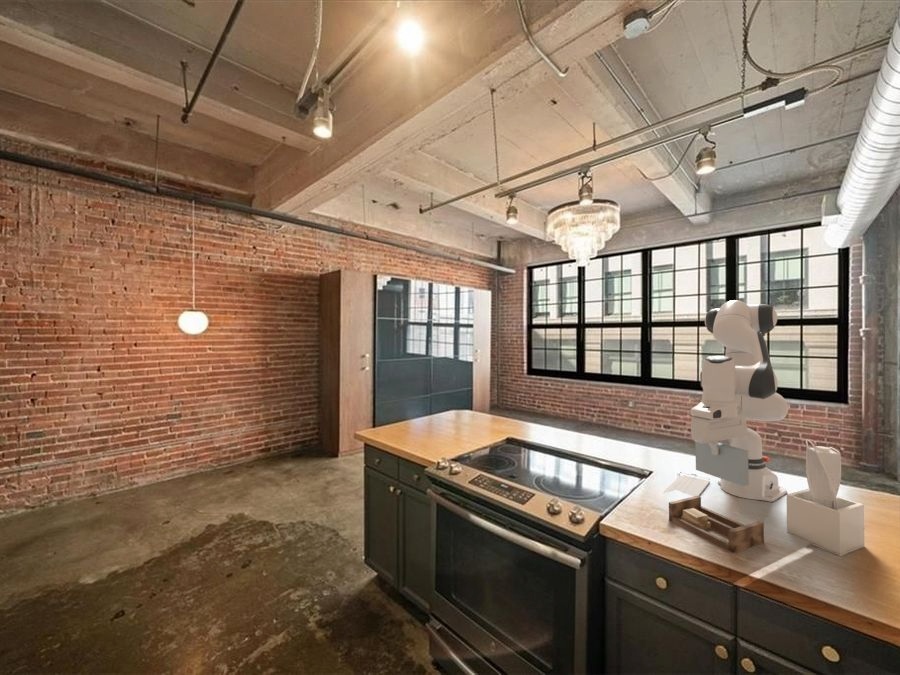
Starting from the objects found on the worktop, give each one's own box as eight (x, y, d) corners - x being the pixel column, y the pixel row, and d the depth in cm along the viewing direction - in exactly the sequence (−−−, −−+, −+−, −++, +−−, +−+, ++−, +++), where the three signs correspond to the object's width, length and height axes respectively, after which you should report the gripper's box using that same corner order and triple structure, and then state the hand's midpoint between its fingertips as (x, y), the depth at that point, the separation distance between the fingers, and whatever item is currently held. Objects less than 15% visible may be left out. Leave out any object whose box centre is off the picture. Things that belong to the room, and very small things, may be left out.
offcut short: (693, 514, 118) (693, 508, 118) (707, 521, 113) (707, 515, 113) (682, 516, 117) (682, 509, 117) (696, 523, 112) (696, 517, 112)
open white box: (810, 526, 115) (810, 488, 115) (864, 546, 104) (863, 504, 104) (787, 534, 111) (786, 494, 111) (840, 556, 100) (839, 512, 100)
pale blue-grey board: (701, 468, 120) (700, 438, 120) (748, 484, 107) (748, 450, 107) (695, 469, 119) (695, 439, 119) (743, 486, 106) (742, 451, 106)
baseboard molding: (652, 500, 137) (689, 511, 128) (651, 493, 136) (689, 503, 128) (676, 476, 158) (709, 484, 149) (676, 470, 158) (709, 477, 149)
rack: (697, 516, 123) (697, 495, 123) (764, 547, 105) (763, 522, 105) (669, 524, 119) (668, 502, 119) (733, 557, 100) (732, 532, 100)
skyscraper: (798, 533, 110) (796, 440, 110) (813, 527, 113) (811, 436, 113) (836, 548, 102) (834, 448, 102) (851, 541, 105) (849, 444, 105)
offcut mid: (690, 519, 119) (689, 513, 119) (711, 528, 113) (711, 522, 113) (681, 522, 117) (681, 516, 117) (702, 532, 111) (702, 525, 111)
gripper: (731, 404, 119) (732, 446, 119) (686, 410, 112) (687, 455, 112) (753, 407, 113) (753, 452, 113) (706, 414, 106) (707, 461, 106)
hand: (720, 453), depth 113 cm, fingers closed on pale blue-grey board, 2 cm apart
